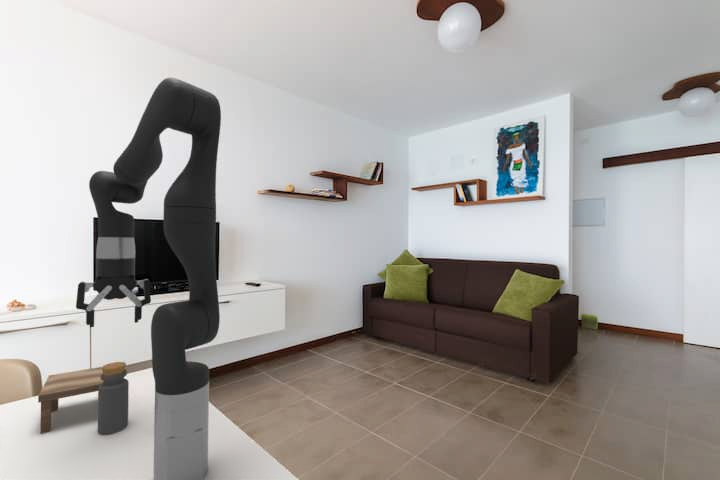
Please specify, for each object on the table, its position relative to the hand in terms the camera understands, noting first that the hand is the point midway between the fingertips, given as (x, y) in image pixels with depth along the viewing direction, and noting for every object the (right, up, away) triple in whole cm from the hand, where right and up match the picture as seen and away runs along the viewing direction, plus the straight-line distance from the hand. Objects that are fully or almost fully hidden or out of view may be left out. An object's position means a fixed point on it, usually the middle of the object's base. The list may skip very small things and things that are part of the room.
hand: (114, 324), depth 80 cm
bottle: (0, -25, 0) cm, 25 cm away
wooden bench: (-14, -25, +6) cm, 29 cm away
